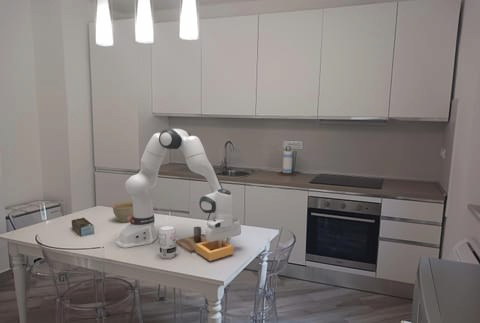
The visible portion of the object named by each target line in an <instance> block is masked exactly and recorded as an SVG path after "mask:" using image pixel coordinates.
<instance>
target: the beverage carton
mask: <svg viewBox="0 0 480 323" xmlns="http://www.w3.org/2000/svg"><path fill="white" fill-rule="evenodd" d="M71 228H72V230H73V231H74V232H75V233H77V234H78V235H79V236H81V237H82V238H83V237H86V236H91V235H95V225H94V224H93V223H91V222H90V221H89V220H87V219H86V218H85V217H81V218H75V219H71Z"/></svg>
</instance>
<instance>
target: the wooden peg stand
mask: <svg viewBox="0 0 480 323" xmlns="http://www.w3.org/2000/svg"><path fill="white" fill-rule="evenodd" d="M205 241H207V240H206V233H202V227H201V226H194V227H193V236H188V237H184V238H180V239H176V245H178V246H180V247H181V248H183V249H184V250H185V251H187V252H188V253H190V254H194V253H197V252H196V245H195V244H198V243H201V242H205Z"/></svg>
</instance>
